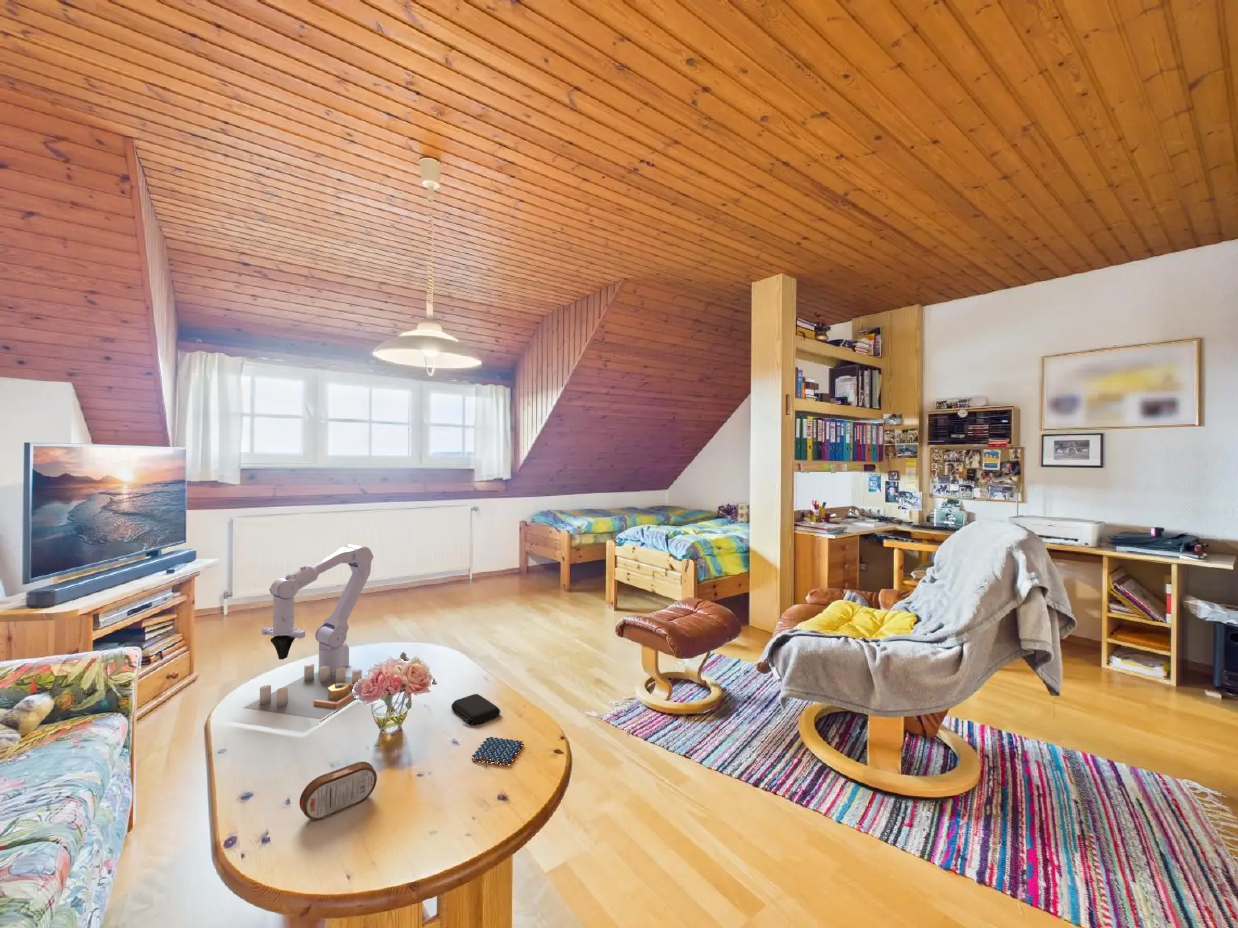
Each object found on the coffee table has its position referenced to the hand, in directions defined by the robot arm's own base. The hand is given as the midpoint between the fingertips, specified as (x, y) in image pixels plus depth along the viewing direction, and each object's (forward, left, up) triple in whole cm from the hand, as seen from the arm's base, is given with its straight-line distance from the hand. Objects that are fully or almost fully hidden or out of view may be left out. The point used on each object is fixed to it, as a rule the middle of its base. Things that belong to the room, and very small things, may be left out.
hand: (283, 658), depth 173 cm
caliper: (-19, +36, -10) cm, 42 cm away
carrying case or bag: (0, +67, -10) cm, 68 cm away
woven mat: (+18, +83, -10) cm, 85 cm away
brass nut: (+3, +23, -8) cm, 25 cm away
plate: (+3, +15, -9) cm, 18 cm away
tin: (+46, +59, -10) cm, 75 cm away
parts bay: (+3, +24, -8) cm, 25 cm away
